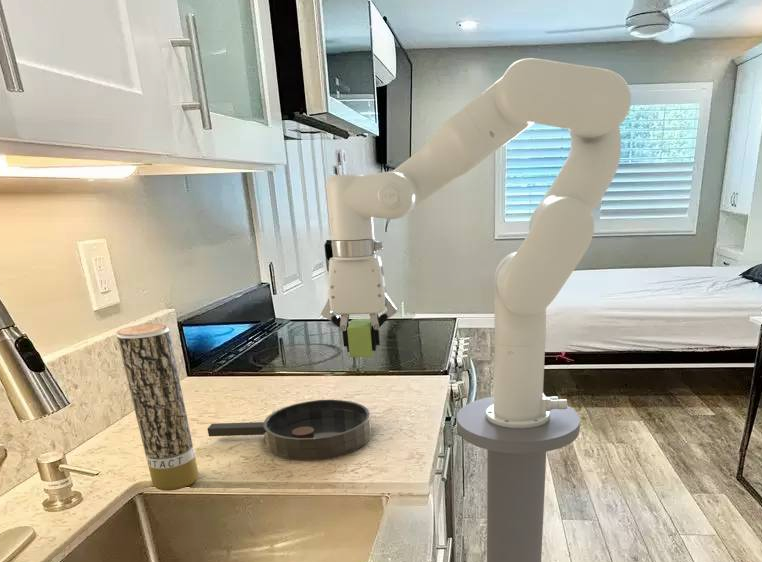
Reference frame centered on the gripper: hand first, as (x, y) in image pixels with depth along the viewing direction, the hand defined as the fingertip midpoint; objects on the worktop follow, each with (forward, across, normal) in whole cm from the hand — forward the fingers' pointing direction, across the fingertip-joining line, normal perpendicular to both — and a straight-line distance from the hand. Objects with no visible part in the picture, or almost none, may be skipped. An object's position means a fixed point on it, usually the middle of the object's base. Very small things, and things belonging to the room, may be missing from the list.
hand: (362, 348), depth 108 cm
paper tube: (+15, +29, +23) cm, 40 cm away
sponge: (+1, 0, 0) cm, 1 cm away
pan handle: (+13, +23, +7) cm, 28 cm away
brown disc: (+14, +12, +7) cm, 20 cm away
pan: (+15, +8, +7) cm, 19 cm away
